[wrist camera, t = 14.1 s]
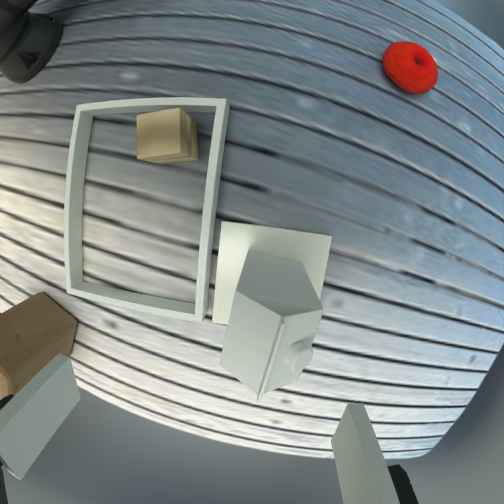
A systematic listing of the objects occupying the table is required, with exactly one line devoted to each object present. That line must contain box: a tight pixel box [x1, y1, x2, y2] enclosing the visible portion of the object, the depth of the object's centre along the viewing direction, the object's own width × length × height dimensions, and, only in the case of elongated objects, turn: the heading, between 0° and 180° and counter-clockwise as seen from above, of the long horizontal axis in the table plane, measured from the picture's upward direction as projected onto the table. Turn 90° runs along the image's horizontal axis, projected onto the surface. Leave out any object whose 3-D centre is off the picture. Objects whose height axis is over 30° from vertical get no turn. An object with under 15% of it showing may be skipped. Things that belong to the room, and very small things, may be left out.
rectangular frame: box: [64, 97, 230, 323], centre depth 35 cm, size 28×22×4 cm
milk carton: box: [220, 251, 323, 403], centre depth 28 cm, size 7×7×19 cm
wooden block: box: [0, 292, 77, 400], centre depth 32 cm, size 10×10×20 cm
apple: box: [383, 41, 438, 94], centre depth 27 cm, size 8×8×7 cm
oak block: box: [137, 108, 199, 164], centre depth 31 cm, size 5×5×8 cm
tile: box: [212, 221, 332, 325], centre depth 37 cm, size 14×14×1 cm
